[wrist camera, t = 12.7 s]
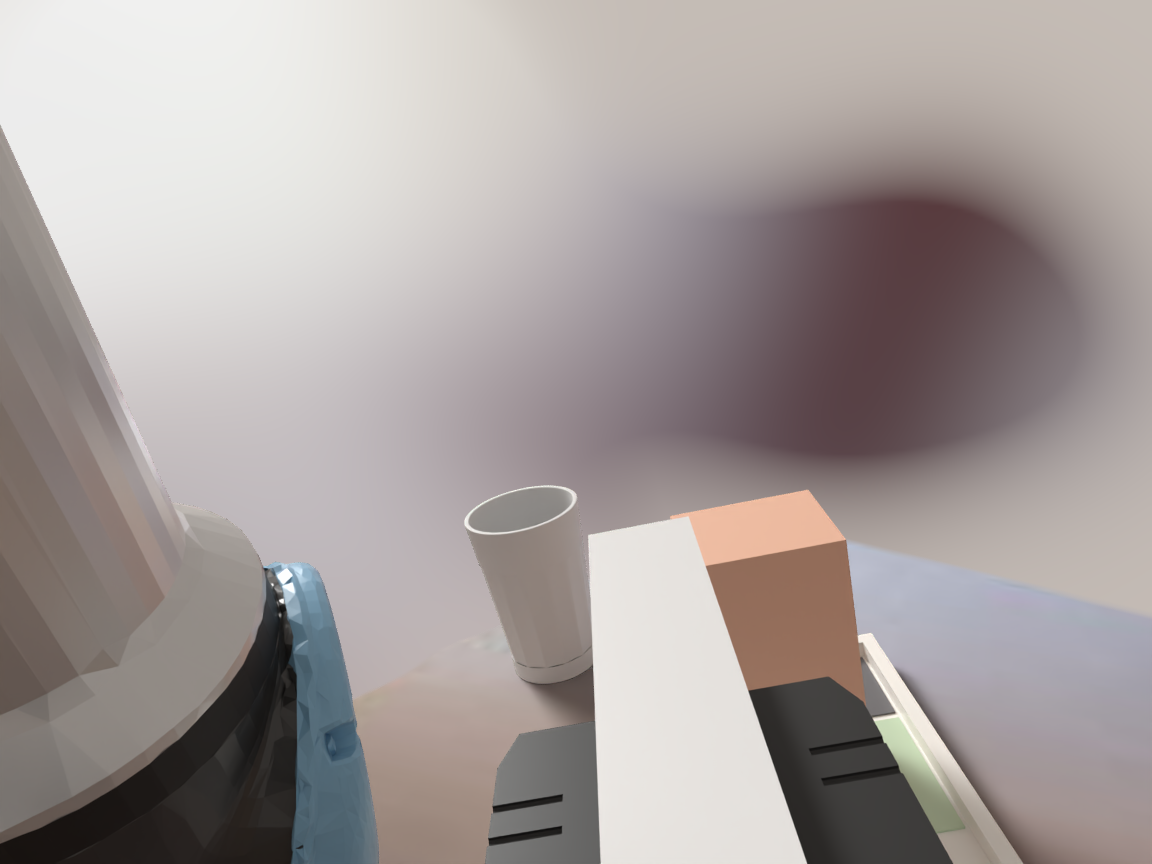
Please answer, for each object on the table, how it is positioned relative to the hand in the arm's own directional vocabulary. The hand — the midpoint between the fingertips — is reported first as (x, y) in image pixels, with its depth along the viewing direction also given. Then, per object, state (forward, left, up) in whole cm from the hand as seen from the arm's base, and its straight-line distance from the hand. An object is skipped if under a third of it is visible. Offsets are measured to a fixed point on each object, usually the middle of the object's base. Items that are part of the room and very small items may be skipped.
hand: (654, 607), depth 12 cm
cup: (-8, +41, -26) cm, 50 cm away
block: (+5, +24, -24) cm, 35 cm away
